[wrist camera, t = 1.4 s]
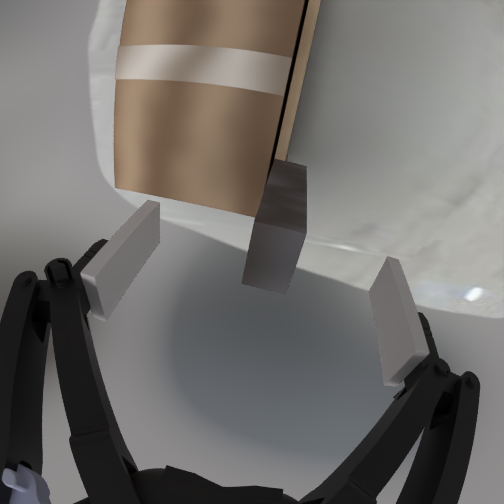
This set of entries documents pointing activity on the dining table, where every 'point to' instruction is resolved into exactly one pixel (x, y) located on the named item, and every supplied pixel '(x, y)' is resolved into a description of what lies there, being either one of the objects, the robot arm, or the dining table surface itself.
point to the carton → (203, 97)
